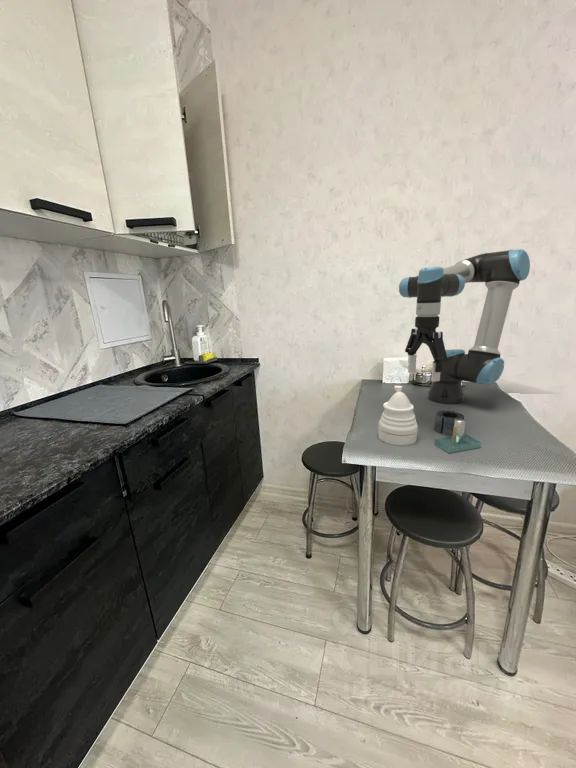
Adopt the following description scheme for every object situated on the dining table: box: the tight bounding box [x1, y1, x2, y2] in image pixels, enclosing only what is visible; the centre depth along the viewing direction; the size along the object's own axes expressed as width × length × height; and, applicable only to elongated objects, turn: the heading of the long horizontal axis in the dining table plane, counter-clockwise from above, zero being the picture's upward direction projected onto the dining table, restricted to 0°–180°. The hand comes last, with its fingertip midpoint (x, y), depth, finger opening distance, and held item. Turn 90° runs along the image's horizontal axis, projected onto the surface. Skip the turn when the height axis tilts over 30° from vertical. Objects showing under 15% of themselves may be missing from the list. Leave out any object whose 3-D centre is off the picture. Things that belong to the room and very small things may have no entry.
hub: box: [433, 409, 465, 437], centre depth 113 cm, size 9×9×6 cm
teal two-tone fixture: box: [434, 419, 482, 454], centre depth 101 cm, size 12×6×9 cm, turn 104°
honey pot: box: [377, 385, 419, 446], centre depth 108 cm, size 13×13×18 cm
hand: (422, 376), depth 112 cm, fingers open, 13 cm apart
